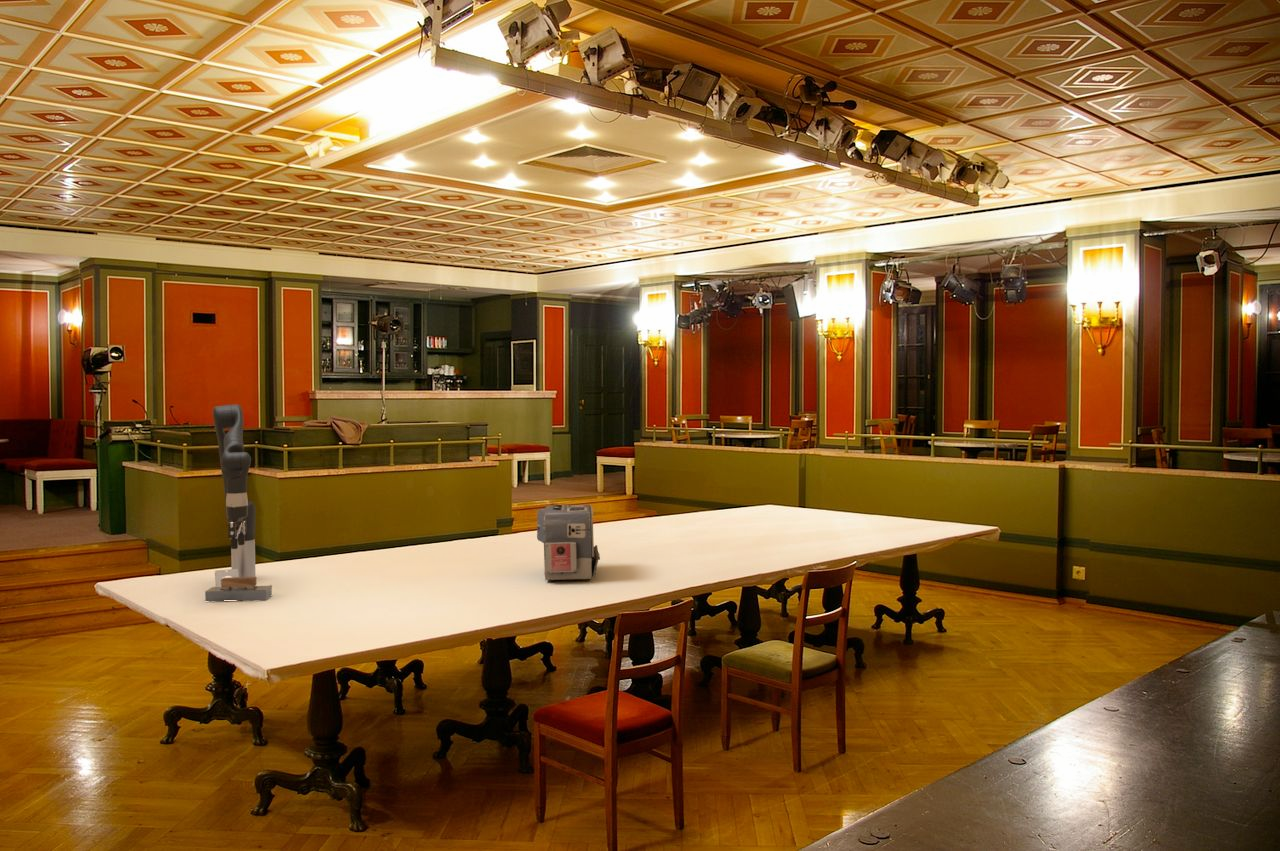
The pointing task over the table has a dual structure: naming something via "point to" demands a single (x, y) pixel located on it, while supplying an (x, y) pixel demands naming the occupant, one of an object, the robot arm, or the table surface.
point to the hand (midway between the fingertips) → (238, 546)
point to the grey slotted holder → (238, 593)
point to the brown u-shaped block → (238, 582)
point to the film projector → (567, 542)
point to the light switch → (225, 575)
